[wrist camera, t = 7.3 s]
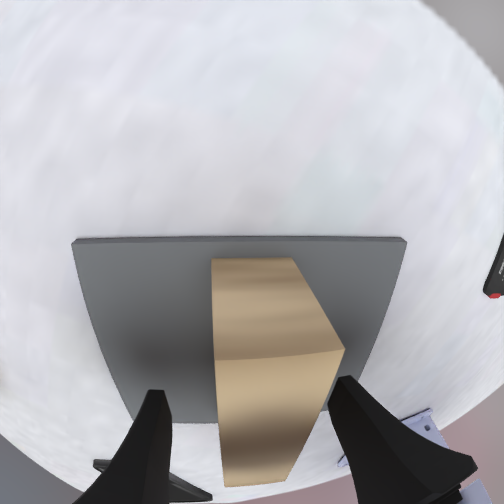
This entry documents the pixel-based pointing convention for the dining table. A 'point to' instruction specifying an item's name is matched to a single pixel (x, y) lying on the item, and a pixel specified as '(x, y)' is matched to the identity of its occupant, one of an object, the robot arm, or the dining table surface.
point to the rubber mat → (200, 306)
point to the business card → (496, 275)
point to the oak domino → (267, 365)
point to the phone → (172, 487)
